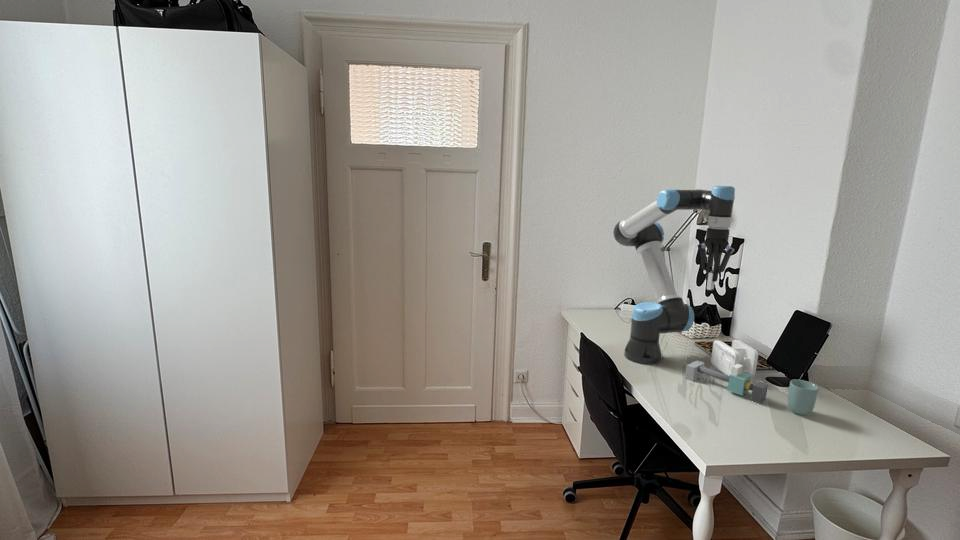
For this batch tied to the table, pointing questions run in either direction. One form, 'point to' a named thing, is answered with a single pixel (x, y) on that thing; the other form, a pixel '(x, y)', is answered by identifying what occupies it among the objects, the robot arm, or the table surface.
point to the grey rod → (721, 376)
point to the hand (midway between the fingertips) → (710, 289)
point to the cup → (802, 396)
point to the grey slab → (693, 370)
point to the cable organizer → (734, 357)
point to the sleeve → (738, 380)
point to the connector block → (759, 392)
